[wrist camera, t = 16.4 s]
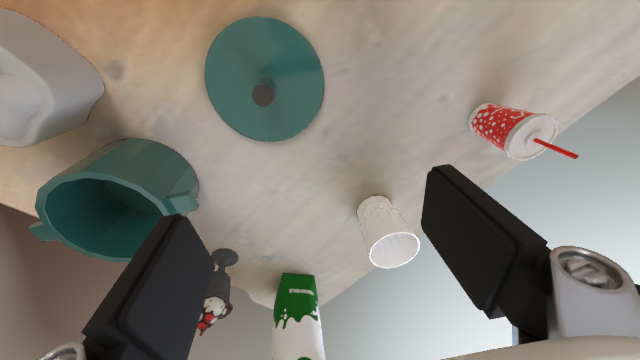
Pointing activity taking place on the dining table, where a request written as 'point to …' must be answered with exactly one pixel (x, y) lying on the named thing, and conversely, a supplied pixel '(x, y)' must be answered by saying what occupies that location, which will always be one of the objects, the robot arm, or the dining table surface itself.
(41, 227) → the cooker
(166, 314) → the robot arm
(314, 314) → the milk carton
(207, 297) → the sundae
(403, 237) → the white cup
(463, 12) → the dining table surface
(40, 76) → the lumpy-topped squat cylinder
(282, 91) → the lid
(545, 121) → the beverage cup
